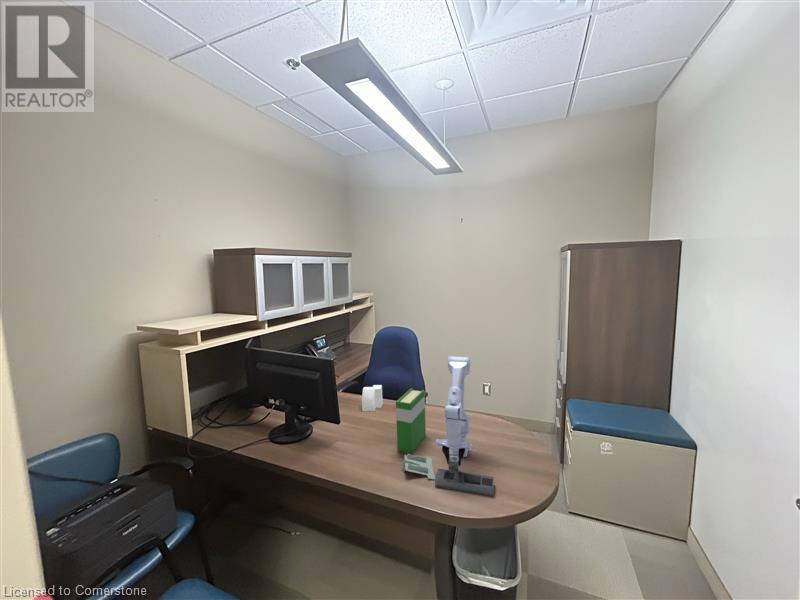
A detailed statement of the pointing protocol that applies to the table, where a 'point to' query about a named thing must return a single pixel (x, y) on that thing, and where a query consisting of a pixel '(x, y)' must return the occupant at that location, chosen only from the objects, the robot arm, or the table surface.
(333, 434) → the table surface
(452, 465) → the cube with square inset
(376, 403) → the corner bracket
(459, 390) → the robot arm
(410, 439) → the hardback book
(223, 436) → the table surface
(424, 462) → the metal bracket
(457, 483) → the rail
